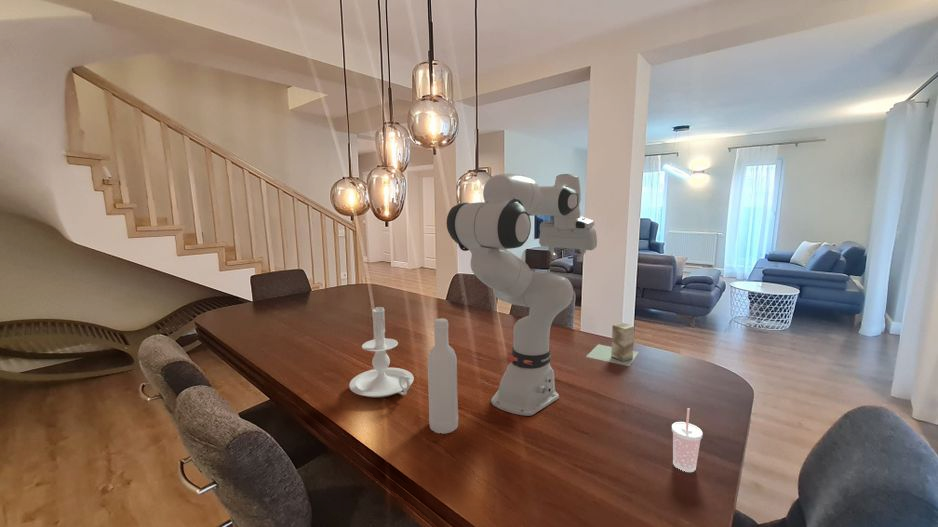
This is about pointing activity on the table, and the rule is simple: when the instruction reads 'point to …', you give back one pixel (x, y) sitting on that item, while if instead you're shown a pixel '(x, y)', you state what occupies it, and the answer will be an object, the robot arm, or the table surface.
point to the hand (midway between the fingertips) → (566, 260)
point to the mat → (607, 355)
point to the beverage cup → (686, 444)
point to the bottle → (442, 382)
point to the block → (622, 342)
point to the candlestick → (381, 365)
